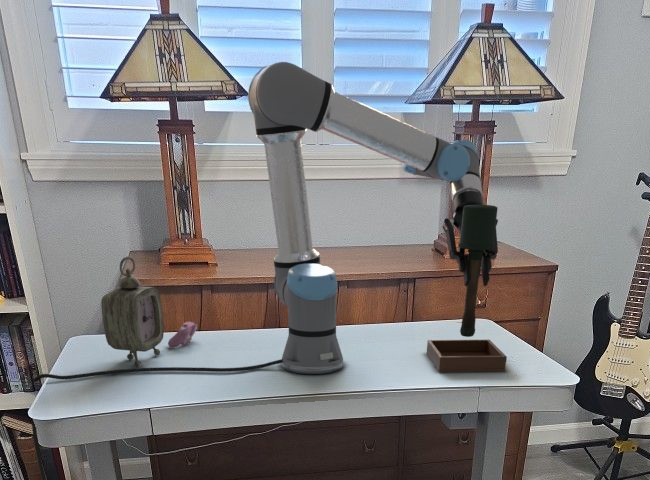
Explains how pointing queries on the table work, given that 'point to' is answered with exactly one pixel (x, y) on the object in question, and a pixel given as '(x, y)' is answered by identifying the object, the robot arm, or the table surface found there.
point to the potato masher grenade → (475, 254)
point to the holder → (466, 356)
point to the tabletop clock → (133, 316)
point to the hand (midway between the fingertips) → (477, 282)
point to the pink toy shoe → (183, 335)
